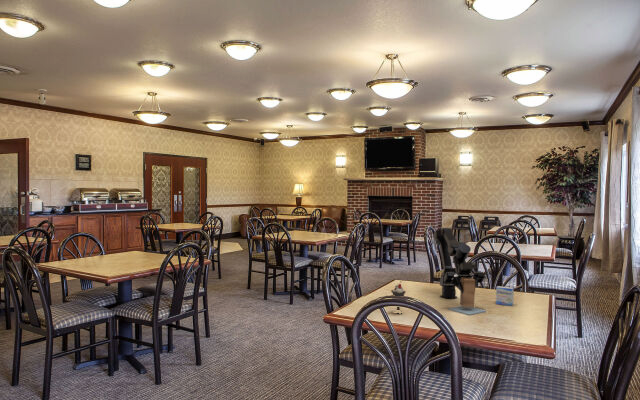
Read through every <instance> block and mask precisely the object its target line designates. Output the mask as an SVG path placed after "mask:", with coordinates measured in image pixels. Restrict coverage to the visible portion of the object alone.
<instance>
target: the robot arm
mask: <svg viewBox="0 0 640 400" xmlns="http://www.w3.org/2000/svg"><path fill="white" fill-rule="evenodd" d="M433 239H434V240H435V243H436V245H438V247H439V251H440V256H441V263H442V268H443V271H442V272H441V276H440V279H439V286H441V295H439V296H440V297H441V298H443V299H448V300H449V299H450V300H451V299H457V298H458V297H457V296H456V295H457V294H456V293H457V292H456V288H457V289H458V290H459V292H462V293H463V292H464V291H463V287H462V284H461V277H464V278H473V279H475V286H476V284H481V283H483V281H484V280H485V278H486V274H485V273H484V271H476V272H475V273H474V274H471V273H472V270H474V269H476V268H477V264H476V261H470V262H469V261H468V262H467V261H466V260H467V259H468V257H469V254H470V253H471V251H472V249H471V247H470V245H468V244H467V243H465V241H464V242H463V241H462V242H460V241H458V240H457V238H456V237H455V236H454V233H453V232H452V228H450V227H442V228H440V229H436V230H435V231H434V232H433ZM451 256H453V257H452V259H451ZM452 263H453V264H454V267H453V264H452ZM440 297H439V298H440Z"/></svg>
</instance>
